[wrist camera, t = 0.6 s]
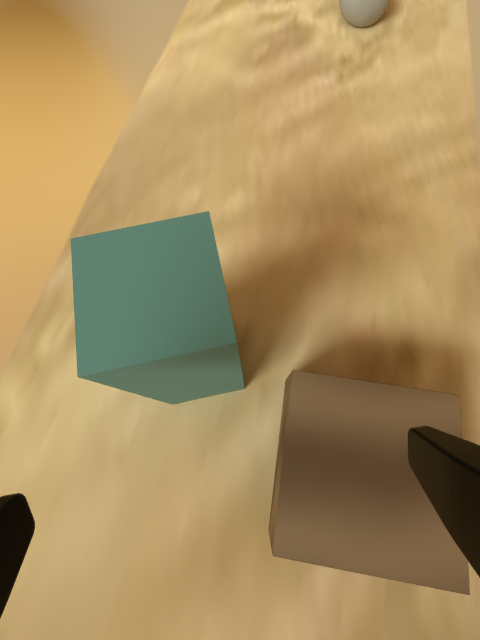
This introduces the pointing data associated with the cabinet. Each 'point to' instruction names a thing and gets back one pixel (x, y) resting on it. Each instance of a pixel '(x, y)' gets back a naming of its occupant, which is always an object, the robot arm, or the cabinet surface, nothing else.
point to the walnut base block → (361, 482)
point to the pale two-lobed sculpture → (363, 11)
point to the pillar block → (155, 311)
